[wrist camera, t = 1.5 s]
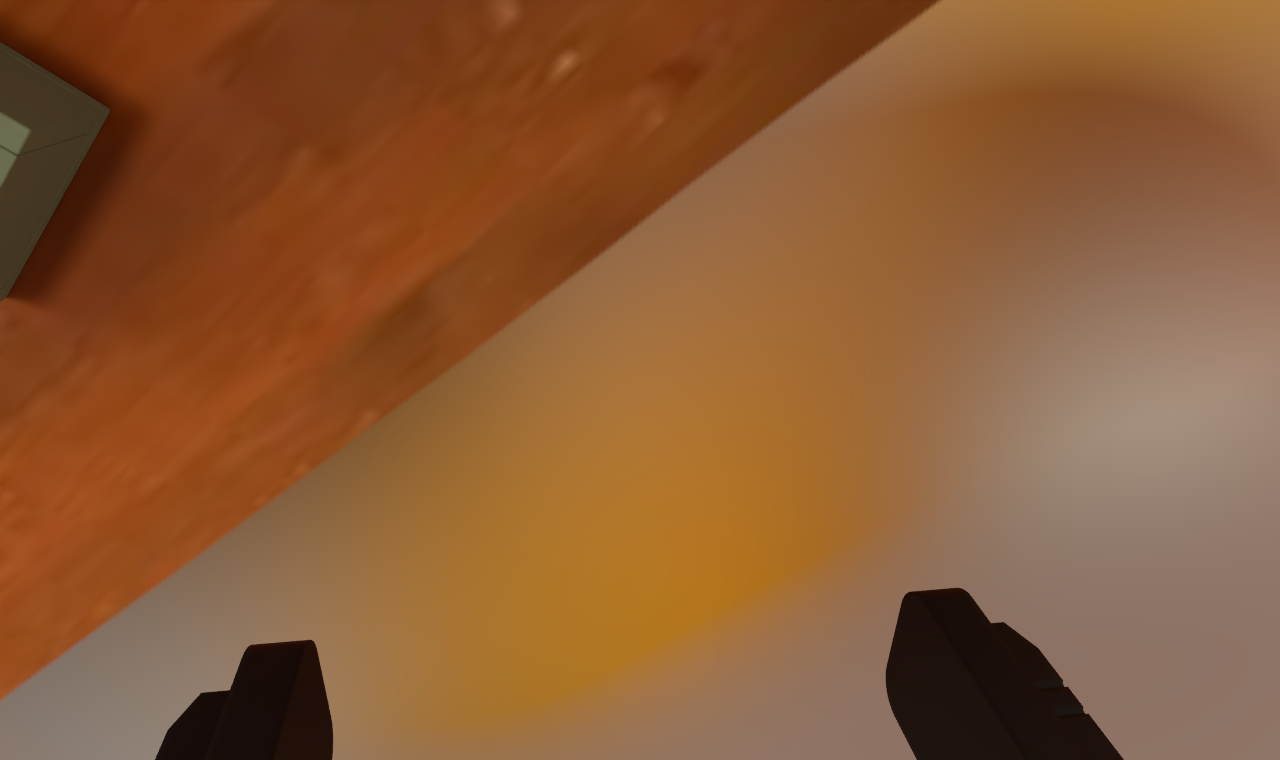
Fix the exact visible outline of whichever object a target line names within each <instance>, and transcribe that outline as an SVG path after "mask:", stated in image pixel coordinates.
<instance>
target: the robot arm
mask: <svg viewBox="0 0 1280 760" xmlns="http://www.w3.org/2000/svg"><path fill="white" fill-rule="evenodd" d="M886 688H887V694H888V698H889V702H890V706H891V709H892V711H893V714H894V716H895V718H896V720H897V722H898V723H899V726H900V727H901V730H902V732H903V734H904V735H905V737H906V739H907V741H908V743H909V745H910V747H911V749H912V751H913V753H914V755H915V757H916V759H917V760H1123V758H1122V757H1121V756H1120V754H1119V753H1118V752H1117V750H1116V749H1115V748H1114V746H1113V745H1112V744H1111V743H1110V741H1109V740H1108V739H1107V737H1106V736H1105V735H1104V733H1103V732H1102V731H1101V729H1100V728H1099V727H1098V726H1097V724H1096V723H1095V722H1094V720H1093V719H1092V718H1091V716H1090V715H1089V714H1085V713H1084V711H1083V706H1082V705H1081V703H1080V702H1079V701H1078V699H1077V698H1076V697H1075V696H1074V694H1073V693H1072V692H1071V690H1070V689H1069V688H1068V687H1064V685H1063V680H1062V679H1061V677H1060V676H1059V675H1058V673H1057V672H1056V671H1055V669H1054V668H1053V667H1052V666H1051V664H1050V663H1049V662H1048V660H1047V659H1046V658H1045V656H1044V655H1043V654H1042V653H1041V651H1040V650H1039V649H1038V648H1037V647H1036V646H1034V645H1033V644H1032V643H1030V642H1029V641H1028V640H1027V639H1025V638H1024V637H1022V636H1021V635H1020V634H1019V633H1017V632H1016V631H1015V630H1013V629H1012V628H1011V627H1009V626H1008V625H1007V624H1005V623H1004V622H1001V623H990V621H989V620H988V619H987V617H986V616H985V615H984V613H983V612H982V610H981V609H980V608H979V606H978V605H977V604H976V602H975V601H974V599H973V598H972V597H971V596H970V594H969V593H968V592H966V591H965V590H964V589H961V588H950V589H938V590H926V591H914V592H909V593H907V594H906V595H905V596H904V598H903V600H902V603H901V608H900V612H899V617H898V620H897V625H896V629H895V633H894V637H893V642H892V646H891V650H890V654H889V659H888V663H887V668H886ZM332 754H333V728H332V720H331V715H330V710H329V705H328V700H327V696H326V691H325V686H324V681H323V676H322V671H321V666H320V662H319V657H318V652H317V648H316V645H315V643H314V641H312V640H304V641H291V642H279V643H268V644H256V645H250V646H249V647H248V648H247V649H246V651H245V652H244V655H243V657H242V659H241V662H240V665H239V667H238V670H237V673H236V675H235V678H234V681H233V684H232V686H231V689H230V690H228V691H217V692H206V693H201V694H200V695H199V696H198V697H197V698H196V699H195V700H194V702H193V703H192V704H191V705H190V706H189V707H188V708H187V709H186V711H185V712H184V713H183V714H182V715H181V716H180V717H179V718H178V720H177V721H176V722H175V723H174V724H173V725H172V726H171V727H170V728H169V730H168V731H167V733H166V736H165V738H164V740H163V743H162V745H161V747H160V749H159V752H158V754H157V756H156V759H155V760H332Z"/></svg>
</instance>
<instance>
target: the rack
mask: <svg viewBox="0 0 1280 760" xmlns="http://www.w3.org/2000/svg"><path fill="white" fill-rule="evenodd" d="M109 113H110V109H109V108H108V107H106V106H105V105H103V104H101V103H100V102H98V101H97V100H95V99H93V98H92V97H90V96H88V95H87V94H85V93H83V92H82V91H80V90H78V89H77V88H75V87H74V86H72V85H70V84H69V83H67V82H65V81H64V80H62V79H60V78H59V77H57V76H56V75H54V74H52V73H51V72H49V71H47V70H46V69H44V68H42V67H41V66H39V65H38V64H36V63H34V62H33V61H31V60H29V59H28V58H26V57H24V56H23V55H21V54H20V53H18V52H16V51H15V50H13V49H11V48H10V47H8V46H6V45H5V44H3V43H2V42H0V301H2V300H3V299H5V298H6V297H7V295H8V294H9V292H10V290H11V288H12V287H13V285H14V283H15V281H16V279H17V278H18V276H19V274H20V272H21V270H22V269H23V267H24V265H25V263H26V261H27V260H28V258H29V256H30V254H31V252H32V251H33V249H34V247H35V245H36V243H37V242H38V240H39V238H40V236H41V235H42V233H43V231H44V229H45V227H46V226H47V224H48V222H49V220H50V218H51V217H52V215H53V213H54V211H55V209H56V208H57V206H58V204H59V202H60V200H61V199H62V197H63V195H64V193H65V192H66V190H67V188H68V186H69V184H70V183H71V181H72V179H73V177H74V175H75V174H76V172H77V170H78V168H79V166H80V165H81V163H82V161H83V159H84V157H85V156H86V154H87V152H88V150H89V149H90V147H91V145H92V143H93V141H94V140H95V138H96V136H97V134H98V132H99V131H100V129H101V127H102V125H103V123H104V122H105V120H106V118H107V116H108V114H109Z"/></svg>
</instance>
